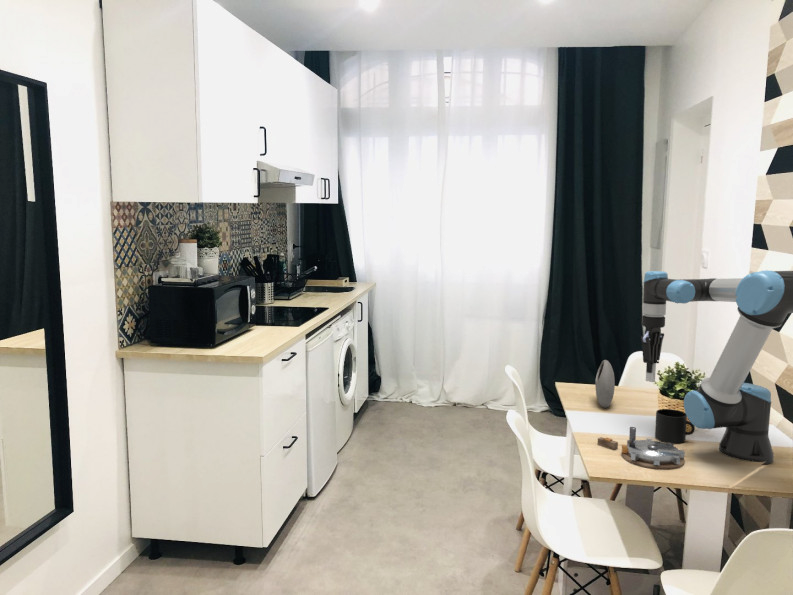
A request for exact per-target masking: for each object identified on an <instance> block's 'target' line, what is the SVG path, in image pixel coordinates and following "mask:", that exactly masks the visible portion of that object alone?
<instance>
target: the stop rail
mask: <svg viewBox="0 0 793 595" xmlns="http://www.w3.org/2000/svg"><path fill="white" fill-rule="evenodd" d="M597 446H600V447H603V448H606V449H609V450H612V451H617V450H618V448H619V442H618V441H616V440H613V438H611V437H610V438H609V437H598V438H597Z"/></svg>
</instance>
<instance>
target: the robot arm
mask: <svg viewBox="0 0 793 595" xmlns="http://www.w3.org/2000/svg"><path fill="white" fill-rule="evenodd" d="M668 275H669V274H668V272H666V271H661V270H659V271H658V270H649V271H648V270H647V271H646V272H645V273H644V279H643V282H642V283H643V290H642V291H643V292H642V295H643V297H642V305H641V307H642V316H641V325H642V326H643V327H644V328H645V329H644V336H641V337H640V341H641V349H642V350H641V352H642V362H643V363H645V365H646V366H645V367H646V368H645V381H646V382H649V383H654V382H655V383H656V373H657V372H656V369H657V364H659V363H660V359H661V353H662V346H663V341H664V338H665V333H664V332H663V333H662V330H661V329H662V328H664V327H665V326H666V316H665V315H667V314H666V310H667V302H671V303H675V304H687V303H690V302H730V303H736V305H737V312H738V314H739V317H738V320H737V322H736V324H735V326H734V328H733V330H732V332H731V334H730V335H729V338H728V340H727V342H726V344H725V346H724V348H723V350H722V352H721V354H720V356H719V358H718V360H717V362H716V365H715V366H714V368H713V371H712V372H711V375H710V376H709V377H705V378H704V379H702V380H701V382H700V384H699V386H698V389H697V390H694V389H693V390H690V391H688V392H687V393H686V394H685V396H684V398H683V408H684V409H683V410H684V413H686V416H687V419H688V420H689V422H691V423H692V424H693V425H694V427H695V428H697V429H701V430H703V429H704V430H707V429H708V430H712V429H719V428H720V429H721V428H726V429H725V432H724V433H723V436H722V438H721V440H720V442H719V444H718V451H719V452H720V453H721V454H723V455H725V456H727V457H730V458H733V459H736V460H738V461H739V460H740V461H745V462H757V463H762V464H761V465H768V464H771V463H773V462H774V450H773V448H772V443H771V440H770V437H769V436H770V435H769V430H770V429H769V428H770V420H771V419H770V418H771V406H772V394H771V391H770V390H769V389H768V388H767V387H764V386H761V385H757V384H753V383H748V382H745V381H746V379H747V377H748V375H749V373H750V372H751V369H752V367H753V365H754V364H755V362H756V360H757V358H758V357H759V355H760V352H761V351H762V349H763V347H764V345H765V343H766V342H767V340H768V337H769V335H770V334H771V332H772V330H773V329H776V328H779V327H781V326H782V325H783V323H784V321H785V319H786V318H787V315H788V314H793V270H768V269H767V270H761V271H753V272H751V273H749V274H746V275H745V276H744V277H741V278H740V277H739V278H698V279H696V278H691V279H689V278H687V279H685V278H684V279H681V278H680V279H674V278H673V279H672V278H669V277H668Z"/></svg>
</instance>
